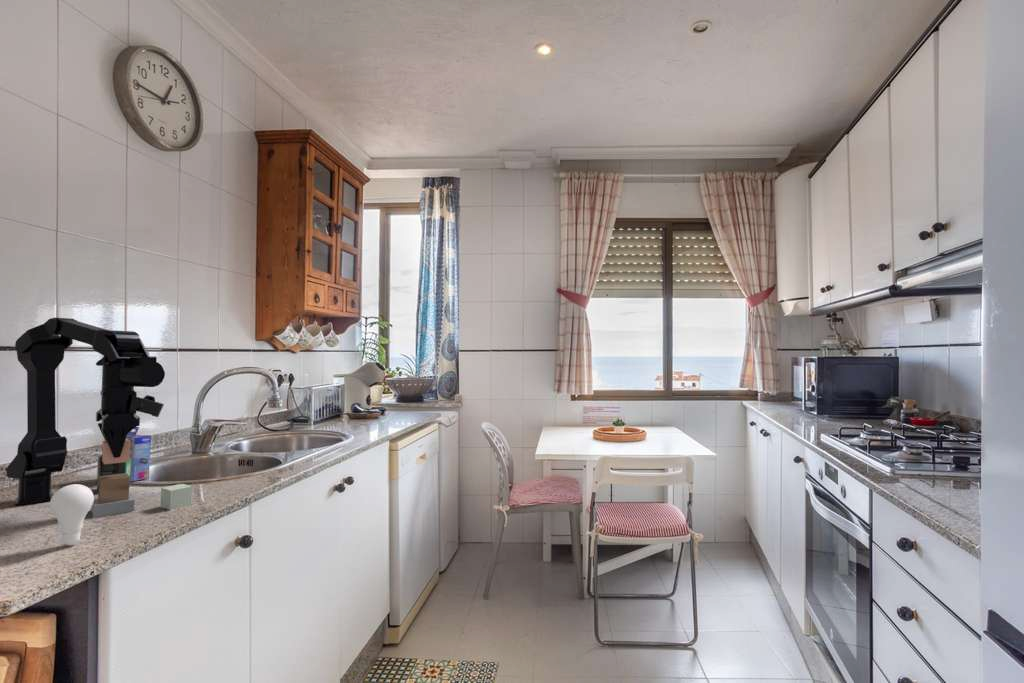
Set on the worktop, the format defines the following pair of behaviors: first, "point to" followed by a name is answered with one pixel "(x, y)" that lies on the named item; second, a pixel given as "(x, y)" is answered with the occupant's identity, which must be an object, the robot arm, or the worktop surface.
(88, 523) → the worktop surface
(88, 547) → the worktop surface
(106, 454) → the terracotta block
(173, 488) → the sage block
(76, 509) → the lightbulb
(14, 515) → the worktop surface
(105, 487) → the walnut cube
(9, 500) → the worktop surface
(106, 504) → the slate base block
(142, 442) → the ink cartridge box
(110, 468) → the supplement bottle
